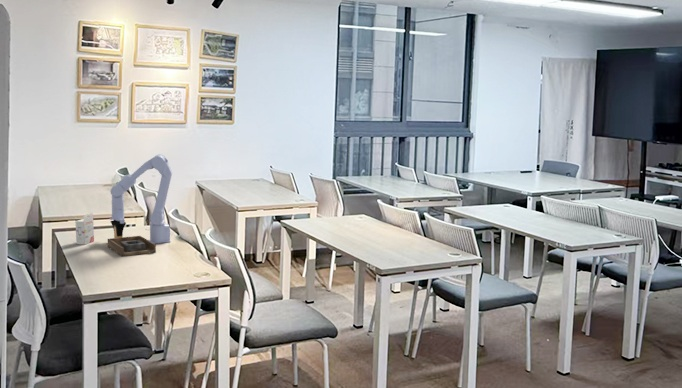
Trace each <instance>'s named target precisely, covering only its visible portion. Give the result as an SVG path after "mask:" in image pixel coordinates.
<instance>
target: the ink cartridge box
mask: <svg viewBox="0 0 682 388" xmlns="http://www.w3.org/2000/svg"><path fill="white" fill-rule="evenodd" d="M82 217H83V218H81V219H78V220H75V241H76V243H75V244H76V245H84V246H85V245H88V244H91V243H93V242H94V241H95V229H94V225H95V224H94V213H93V212H91V213H87V214H85V215H83V216H82Z"/></svg>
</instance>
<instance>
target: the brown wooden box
mask: <svg viewBox="0 0 682 388" xmlns="http://www.w3.org/2000/svg"><path fill="white" fill-rule="evenodd" d="M149 240H150V239H147V238H145V237H143V236H141V235H136V236H135V235H134V236H133V235H132V236H125V237H122V238H114V237H113V238H107V247H108V248H109V249H110V248H111V249H110V250H111V251H113V252H114V253H116V254H117V255H120V256H121V257H130V256H139V255H145V254H146V255H147V254H156V253H157V249H156V247H157V245H156V244H157V243H152V242H150V241H149Z"/></svg>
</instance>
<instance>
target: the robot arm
mask: <svg viewBox="0 0 682 388" xmlns="http://www.w3.org/2000/svg"><path fill="white" fill-rule="evenodd" d="M153 169H155V171H157V172H159V175H160V176H161V178H160V182H159V185H158V190H157V195H156V200H155V203H154V208H153V212H152V213H151V214H150V216H149V222H150V223H149V239H148V240H149V241H150V242H152V243H154V244H161V243H171V227H170V225H169V223H165V222H164V219H165V216H166V215H165V206H166V203H167V202H166V201H167V197H168V193H169V188H170V184H171V179H172V175H173V172H172V169H171V166H170V164H169V161H168V159H167V158H166V157H165V156H164V155H163V154H157V155H155V156H153V157H151V158H150V159H148V160H147V161H145V162H144V163H142V165H140V167H138V168H137V169H136V170H135V171H134V172H133V173H132V174H130V173H129V174H125V175H124V176H122V177H123V178H122V179H121V180H119V181H117V182H116V184H115V185H113V186H112V187H111V188H110V195H111V217H109V220H110V223H111V226H112V230H114V225H115V227H116V232H117V236H122V233H123V232H124V228H125V226H126V224H127V222H126V221H125V205H124V202H125V200H124V194H125V192H127V191H128V190H129V189H131V187H133V186H134V185H135V184H136V182H137V179H138V178H139V177H140V176H141V175H143V174H144V173H145V172H146V171H148V170H153Z"/></svg>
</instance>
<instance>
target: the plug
mask: <svg viewBox="0 0 682 388" xmlns="http://www.w3.org/2000/svg"><path fill="white" fill-rule="evenodd" d="M113 233H114V234H113V236H114V237H113V238H122V237H123V236H124V235H123V233H122V236H117V232H116V227H115V225H114V229H113Z"/></svg>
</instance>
